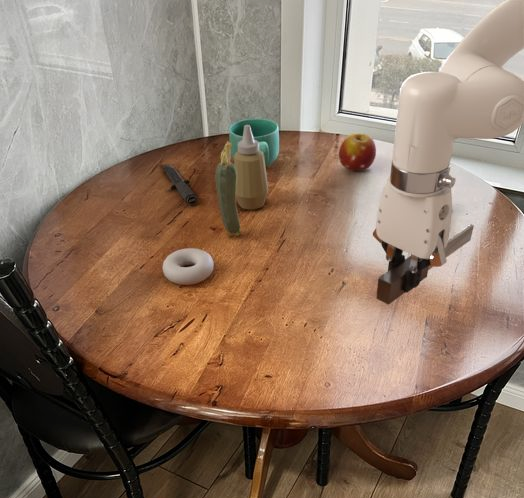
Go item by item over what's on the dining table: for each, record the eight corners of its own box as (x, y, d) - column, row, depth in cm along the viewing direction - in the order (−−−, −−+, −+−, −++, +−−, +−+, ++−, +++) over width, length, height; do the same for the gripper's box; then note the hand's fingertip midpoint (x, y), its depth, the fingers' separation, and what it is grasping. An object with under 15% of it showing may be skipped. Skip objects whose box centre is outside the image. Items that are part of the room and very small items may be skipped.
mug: (229, 156, 145) (226, 120, 139) (275, 151, 146) (274, 115, 140) (236, 183, 133) (233, 146, 127) (286, 178, 134) (285, 140, 128)
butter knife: (475, 242, 94) (480, 221, 92) (388, 305, 83) (390, 284, 81) (463, 237, 96) (467, 217, 93) (376, 298, 85) (378, 277, 82)
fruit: (364, 178, 133) (367, 146, 127) (331, 171, 136) (332, 140, 131) (380, 163, 138) (383, 132, 133) (347, 157, 142) (350, 126, 137)
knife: (200, 200, 126) (192, 192, 124) (185, 213, 127) (177, 205, 125) (178, 159, 143) (172, 151, 141) (165, 170, 144) (158, 163, 142)
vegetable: (225, 242, 114) (216, 149, 100) (218, 232, 117) (208, 141, 103) (244, 237, 115) (238, 144, 101) (237, 227, 118) (229, 136, 104)
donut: (217, 285, 103) (211, 255, 110) (215, 270, 101) (210, 241, 108) (165, 292, 102) (162, 262, 109) (162, 277, 100) (160, 247, 107)
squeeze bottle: (274, 199, 127) (272, 121, 115) (260, 215, 122) (256, 135, 109) (243, 193, 130) (238, 116, 117) (228, 209, 124) (221, 130, 112)
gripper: (487, 183, 70) (460, 295, 83) (388, 149, 80) (377, 255, 92) (454, 204, 67) (431, 317, 80) (355, 167, 76) (348, 274, 89)
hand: (402, 283), depth 86 cm, fingers closed on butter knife, 2 cm apart
